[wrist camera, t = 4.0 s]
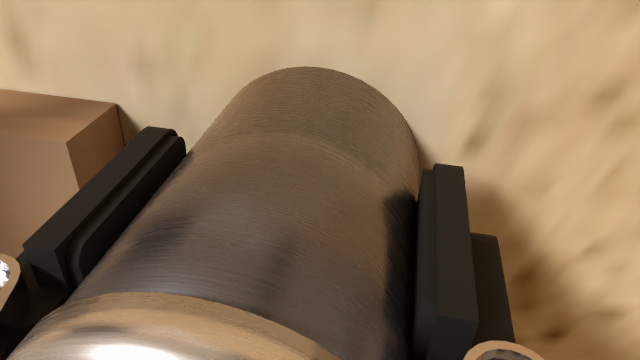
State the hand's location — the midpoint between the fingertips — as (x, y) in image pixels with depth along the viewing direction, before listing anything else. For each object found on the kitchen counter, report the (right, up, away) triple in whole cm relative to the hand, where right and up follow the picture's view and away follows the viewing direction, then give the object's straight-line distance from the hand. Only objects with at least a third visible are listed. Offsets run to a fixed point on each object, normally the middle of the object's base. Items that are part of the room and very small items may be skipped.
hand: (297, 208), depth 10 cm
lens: (0, +1, +1) cm, 2 cm away
